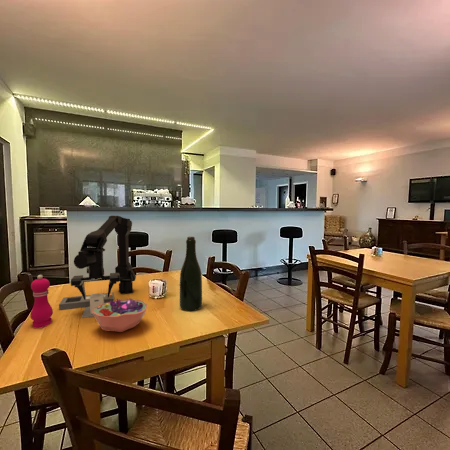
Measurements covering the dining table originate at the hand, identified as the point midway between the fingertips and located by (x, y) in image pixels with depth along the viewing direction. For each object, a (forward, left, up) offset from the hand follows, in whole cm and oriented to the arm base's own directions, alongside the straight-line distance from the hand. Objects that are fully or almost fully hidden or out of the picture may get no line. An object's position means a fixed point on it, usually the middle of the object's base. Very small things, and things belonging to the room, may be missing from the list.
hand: (96, 298), depth 114 cm
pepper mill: (+19, +6, -6) cm, 21 cm away
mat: (0, 0, -6) cm, 6 cm away
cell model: (-10, +19, -7) cm, 22 cm away
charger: (0, 0, -6) cm, 6 cm away
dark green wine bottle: (-40, +8, -6) cm, 41 cm away
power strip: (+5, -11, -7) cm, 14 cm away
